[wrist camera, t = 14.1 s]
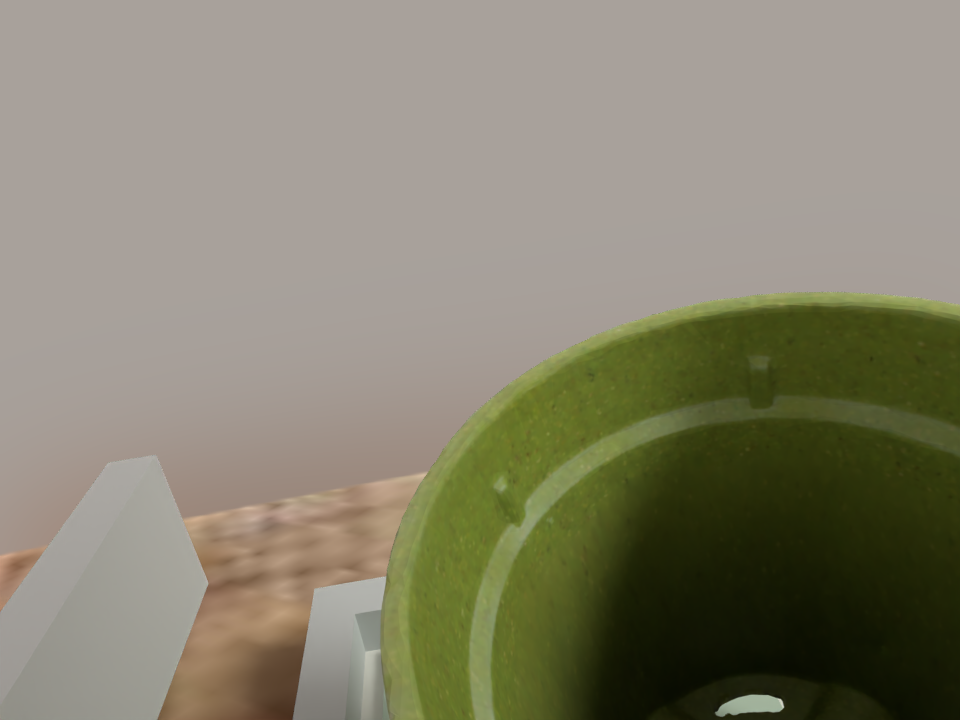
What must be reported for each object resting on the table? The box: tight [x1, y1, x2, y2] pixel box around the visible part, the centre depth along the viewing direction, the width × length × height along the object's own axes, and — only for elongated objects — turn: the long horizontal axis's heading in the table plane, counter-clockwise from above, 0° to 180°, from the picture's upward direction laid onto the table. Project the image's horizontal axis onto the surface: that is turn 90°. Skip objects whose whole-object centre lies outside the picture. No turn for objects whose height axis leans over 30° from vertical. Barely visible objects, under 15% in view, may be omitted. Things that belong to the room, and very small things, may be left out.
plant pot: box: [380, 292, 960, 720], centre depth 10 cm, size 9×9×9 cm
